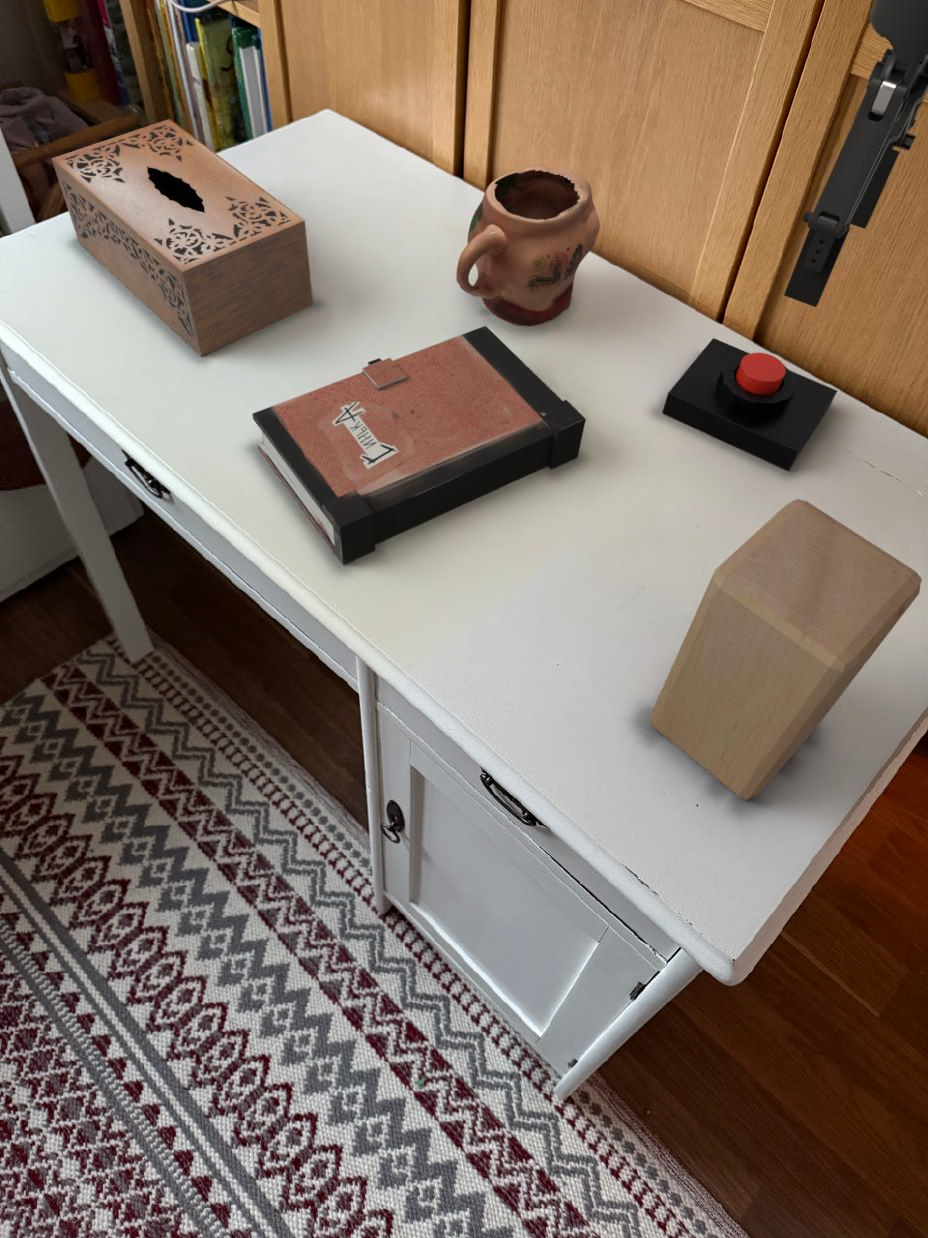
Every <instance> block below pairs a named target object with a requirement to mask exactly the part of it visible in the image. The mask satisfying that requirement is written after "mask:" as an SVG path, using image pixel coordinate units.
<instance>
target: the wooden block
mask: <svg viewBox="0 0 928 1238" xmlns="http://www.w3.org/2000/svg"><path fill="white" fill-rule="evenodd" d="M922 580H923V578H922V577H921V576H920V575H919V574H918V572H917V571H916V570H915V569H913V568H911V567H910V566H908V565H907V564H905V563H904V562H902V561H901V560H899V559H897V558H896V557H894V556H892V555H891V554H890V553H888V552H887V551H885V550H883V549H882V548H881V547H880V546H877V545H876V544H874V543H872V542H871V541H869V540H868V539H866V538H865V537H863V536H862V535H861V534H858V533H857V532H856V531H854V530H852V529H851V528H849V527H848V526H846V525H845V524H843V523H841V522H840V521H838V520H837V519H836V518H833V516H830V515H829V514H828V513H826V512H825V511H823V510H821V509H820V508H818V507H817V506H815V505H813V504H812V503H810V502H809V501H807V500H803V499H800V498H797V499H793V500H792V501H790V502H789V503H787V504H785V505H784V506H783V507H782V508H781V509H780V510H778V512H777V513H776V514H774V515H773V516H772V517H771V518H770V519H768V521H767V522H765V523H764V524H763V525H762V526H761V527H760V528H759V529H758V530H757V531H756V532H755V533H753V535H751V536H750V537H749V538H747V540H746V541H745V542H744V543H742V544H741V545H740V546H739V547H738V548H737V549H736V550H735V551H734V552H732V553H731V554H730V555H729V556H728V557H727V558H726V559H725V560H724V561H723V562H722V563H721V564H720V565H719V566H717V567H716V568H715V569H714V571H713V574H712V576H711V578H710V581H709V583H708V585H707V588H706V589H705V591H704V594H703V596H702V598H701V601H700V603H699V605H698V608H697V609H696V612H695V613H694V616H693V618H692V620H691V623H690V625H689V627H688V629H687V631H686V634H685V637H684V639H683V641H682V643H681V645H680V648H679V650H678V652H677V654H676V656H675V659H674V661H673V663H672V665H671V668H670V670H669V673H668V675H667V677H666V679H665V681H664V683H663V686H662V688H661V691H660V693H659V695H658V696H657V699H656V701H655V704H654V706H653V709H652V711H651V714H650V717H649V723H650V724H651V725H652V727H653V728H654V730H655V731H657V732H658V733H660V735H662V736H663V737H664V738H666V739H667V740H668V741H669V742H671V743H672V744H673V745H674V746H675V747H676V748H678V749H679V750H680V751H682V752H683V753H684V754H685V755H686V756H687V757H689V758H690V759H691V760H692V761H694V762H695V763H696V764H697V765H699V766H700V768H702V769H703V770H705V771H706V772H707V773H708V774H710V775H711V776H712V777H713V778H715V779H716V780H717V781H718V782H719V783H720V784H721V785H723V786H724V787H726V788H727V789H728V790H729V791H730V792H732V793H733V794H734V795H735V796H737V797H738V798H740V799H742V800H746V801H747V800H750V799H752V798H754V797H758V795H759V794H760V793H761V792H762V791H763V790H764V788H765V787H766V786H767V785H768V784H769V783H770V782H771V780H772V779H773V778H774V777H775V776H776V775H777V773H778V772H779V771H781V769H782V768H783V767H784V766H785V764H786V763H788V761H789V760H790V759H791V757H792V756H793V755H794V754H795V753H796V752H797V751H798V750H799V749H800V747H802V745H803V744H804V743H805V742H806V740H807V739H809V737H810V736H811V735H812V733H813V732H814V731H815V729H817V727H818V726H819V725H820V723H821V722H822V721H823V720H824V718H825V717H826V716H827V714H828V713H829V712H830V711H831V709H832V708H833V706H834V705H835V704H836V702H837V701H838V700H839V699H840V698H841V696H842V695H843V694H844V692H845V691H846V690H847V689H848V687H849V686H850V685H851V683H852V682H853V681H854V679H855V678H856V677H857V675H858V674H859V673H860V672H861V670H862V669H863V668H864V666H865V665H866V664H867V662H868V661H869V660H870V658H871V657H872V656H873V654H874V653H875V652H876V650H877V649H878V648H879V647H880V645H881V644H882V642H883V641H884V640H885V639H886V638H887V636H888V635H889V634H890V632H891V631H892V630H893V629H894V627H895V626H896V624H897V623H898V622H899V620H901V618H902V617H903V615H904V614H905V613H906V612H907V610H908V609H909V608H910V606H911V605H912V603H913V602H914V601H915V600H916V598H917V597H918V596H919V595H920V592H921V584H922Z"/></svg>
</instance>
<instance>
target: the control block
mask: <svg viewBox="0 0 928 1238" xmlns="http://www.w3.org/2000/svg"><path fill="white" fill-rule="evenodd" d="M748 354H751V353H750V352H748V351H745V350H743V349H741V348H739V347H736V346H734V345H732V344H729V343H727V342H724V341H722V340H719V339H717V338H715V337H713V338H712V339H711V340H710V341H709V342H708V344H707V345H706V346H705V347H704V349H702V351H701V352H700V354H699V355H698V356H697V357H696V358H695V359H694V361H693V362H692V363H691V364H690V366H689V367H688V368H687V370H686V371H684V372H683V374H682V376H681V377H680V378H679V379H678V381H677V382H676V383H675V384H674V386H672V387H671V389H670V390H669V391H668V392H667V396H666V399H665V402H664V406H663V408H662V414H663V415H665V416H667V417H669V418H672V419H673V420H676V421H678V422H680V423H682V424H684V425H687V426H689V427H691V428H693V429H695V430H698V431H699V432H702V433H703V434H707V435H708V436H710V437H713V438H715V439H717V440H719V441H722V442H724V443H726V444H727V445H730V446H732V447H734V448H736V449H739V450H741V451H743V452H745V453H748V454H750V455H752V456H754V457H756V458H759V459H760V460H763V461H765V462H767V463H768V464H772V465H773V466H776V467H778V468H780V469H782V470H785V471H787V472H790V470H791V468H792V467H793V466H794V464H795V463H796V461H797V459H798V458H799V457H800V455H801V453H802V452H803V450H804V448H805V447H806V445H807V444H808V442H809V440H810V439H811V438H812V436H813V435H814V433H815V431H816V430H817V429H818V427H819V425H820V424H821V422H822V421H823V419H824V417H825V416H826V414H827V413H828V411H829V409H830V407H831V405H832V403H833V401H834V399H835V397H836V395H837V393H838V390H837V389H834V388H833V387H830V386H828V385H825V384H822V383H820V382H818V381H815V380H813V379H811V378H809V377H807V376H804V375H802V374H799V373H797V372H795V371H792V370H790V369H789V368H788V367H787V366H786V365H785V364H784V366H785V370H786V373H785V376H784V378H783V380H782V383H781V385H780V387H779V389H778V390H777V391H776V392H775V393H773V394H770V395H763V394H754V393H752V392H750V391H748V390H745V389H743V388H742V387H741V386H740V385H739V384H738V382H737V380H736V374H737V372H738V369H739V366H740V364H741V361H742V359H743V358H744V357H745V356H746V355H748Z"/></svg>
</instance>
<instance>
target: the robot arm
mask: <svg viewBox="0 0 928 1238" xmlns="http://www.w3.org/2000/svg"><path fill="white" fill-rule="evenodd" d="M869 21H870V22H869V23H870V26H871V28H872V29H873V31H874V32H875V33H876V34H877V35H878V36H879V37H881V38H884V39H886V40H887V41H888V42H889V44H890V45H891V47H892V48H887V49H885V52H884V54H883V56H882V58H881V60H880V61H879V60H877V61H876V63H875V65H874V66H873V69H872V71H871V73H870V75H869V78H868V79H867V80H868V82H867V85H866V91H865V93H864V96H863V98H862V100H861V102H860V105H859V107H858V109H857V111H856V113H855V115H854V117H853V123H852V125H851V128H850V129H849V131H848V133H847V136H846V138H845V140H844V141H843V142H844V143H843V145H842V147H841V149H840V152H839V153H838V156H837V159H836V161H835V162H834V165H833V167H832V169H831V171H830V174H829V176H828V178H827V180H826V183H825V185H824V187H823V190H822V192H821V194H820V196H819V199H818V200H817V202H816V205H815V207H814V209H813V212H812V211H808V210H805V211H804V214H803V216H802V219H801V220H802V222H805V223H807V225H806V226H807V229H808V228H809V229H808V232H807V234H806V237H805V239H804V242H803V244H802V247H801V250H800V252H799V254H798V258H797V260H796V263H795V265H794V268H793V271H792V273H791V276H790V278H789V280H788V283H787V285H786V289H785V291H784V293H783V296H785V297H787V298H790V299H792V300H794V301H798V302H800V303H803V304H805V305H809V306H811V307H814V308H817V306H818V304H819V302H820V301H821V298H822V295H823V294H824V291H825V289H826V286H827V284H828V282H829V279H830V277H831V275H832V272H833V270H834V267H835V266H836V263H837V261H838V258H839V256H840V254H841V252H842V249H843V246H844V244H845V242H846V240H847V237H848V235H849V233H850V230H851V225H852V226H856V227H858V228H861V229H863V230H864V229H865V230H866V228H867V226H868V225H869V223H870V221H871V219H872V218H871V217H872V216H873V214H874V211H875V209H876V207H877V204H878V203H879V200H880V198H881V196H882V193H883V191H884V189H885V186H886V184H887V182H888V179H889V177H890V175H891V173H892V171H893V169H894V166H895V164H896V162H897V159H898V157H899V155H900V153H901V151H900V150H895V149H894V148H898V149H901V150H904V151H908V152H909V151H910V149H911V148H912V146H913V144H914V142H915V140H916V138H917V135H915V134H912V133H909V132H910V131H911V128H914V126H915V124H916V122H917V120H916V118H917V116H918V113H919V111H920V109H921V105H922V104H923V102H924V100H925V98H926V97H927V94H928V0H874V1H873V5H872V7H871V10H870V13H869Z"/></svg>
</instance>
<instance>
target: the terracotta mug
mask: <svg viewBox="0 0 928 1238" xmlns="http://www.w3.org/2000/svg"><path fill="white" fill-rule="evenodd" d="M600 227H601V223H600V218H599V215H598V213H597V209H596V206H595V204H594V201H593V193H592V187H591V184H590V183H589V181H588V180H586V179H585V178H584V177H582V176H581V175H579V174H577V173H576V172H575V171H573V170H570V169H559V168H558V169H557V168H551V167H545V166H532V167H528V168H523V169H520V170H516V171H513V172H508V173H505V174H503V175H501V176H498V177H497V178H495V179H494V180H493V181H492V182H490V183H489V185H488V186H487V187H486V189H485V191H484V194H483V196H482V199H481V201H480V202H479V204H478V206H477V208H476V209H475V211H474V213H473V216H472V218H471V221H470V224H469V227H468V228H469V229H468V232H467V239H466V240H467V241H466V242H467V244H466V246H465V247H464V249H463V250H462V251H461V254H460V256H459V259H458V261H457V267H456V273H455V274H456V279H455V280H456V282H457V284H458V285H459V288H460V289H461V290H462V291H463V292H465V293H466V294H469V295H470V296H472V297H477V298H481V300H482V302H483V304H484V306H485V307H486V308H487V309H488V311H490V313H492V314H493V316H495V317H497V318H498V319H501V320H502V321H504V322H506V323H509V324H511V325H514V326H515V325H516V326H522V327H536V326H541V325H544V324H547V323H549V322H551V321H552V322H553V320H555V319H557V318H558V317H559V316H560V315H561V314H562V313H564V312H565V311H567V310H568V309H569V308H570V307H571V303H572V298H573V290H574V283H575V277H576V273H577V270H578V269H579V266H580V264H581V262H583V260H584V259H585V258H586V256H587V255H588V254H589V253H590V252H591V250H592V249H593V247H594V246H595V243H596V241H597V238H598V235H599V232H600ZM474 266H476V270H477V279H476V281H475V283H474V284H473V285H472V284H471V283H470V279H469V276H470V274H471V270H472V269H473V267H474Z"/></svg>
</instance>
